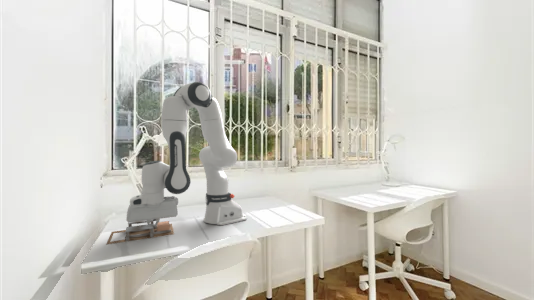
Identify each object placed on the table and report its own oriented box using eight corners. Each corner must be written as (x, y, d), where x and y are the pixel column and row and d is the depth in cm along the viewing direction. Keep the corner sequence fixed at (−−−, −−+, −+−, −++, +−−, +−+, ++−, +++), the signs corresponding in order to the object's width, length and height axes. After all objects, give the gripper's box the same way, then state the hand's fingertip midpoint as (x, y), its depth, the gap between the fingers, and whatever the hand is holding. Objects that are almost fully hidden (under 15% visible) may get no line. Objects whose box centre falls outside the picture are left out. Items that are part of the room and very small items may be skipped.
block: (168, 227, 109) (168, 221, 109) (169, 231, 105) (169, 224, 105) (157, 229, 107) (156, 222, 107) (157, 233, 103) (157, 226, 102)
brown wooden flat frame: (171, 226, 114) (171, 214, 114) (174, 237, 102) (174, 224, 101) (111, 235, 104) (111, 222, 103) (106, 248, 91) (105, 233, 91)
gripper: (177, 194, 111) (177, 223, 112) (127, 198, 102) (127, 229, 103) (178, 197, 105) (178, 227, 106) (125, 201, 96) (126, 235, 97)
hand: (153, 228), depth 104 cm, fingers closed
